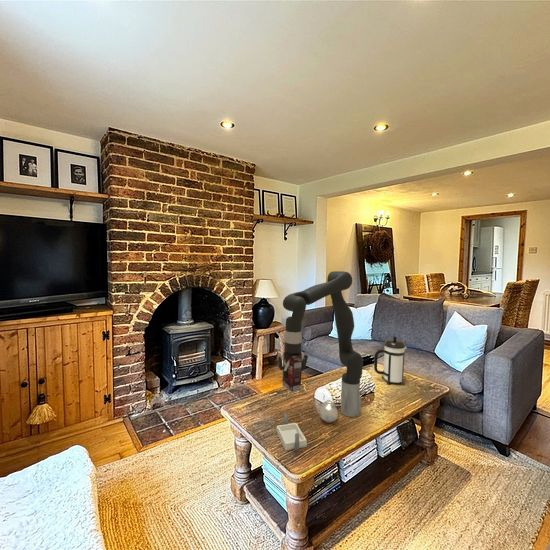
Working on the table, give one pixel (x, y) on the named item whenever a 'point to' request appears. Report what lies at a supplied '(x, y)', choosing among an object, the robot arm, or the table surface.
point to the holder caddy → (291, 435)
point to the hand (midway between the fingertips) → (291, 377)
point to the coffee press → (392, 360)
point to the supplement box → (293, 373)
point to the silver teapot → (329, 411)
